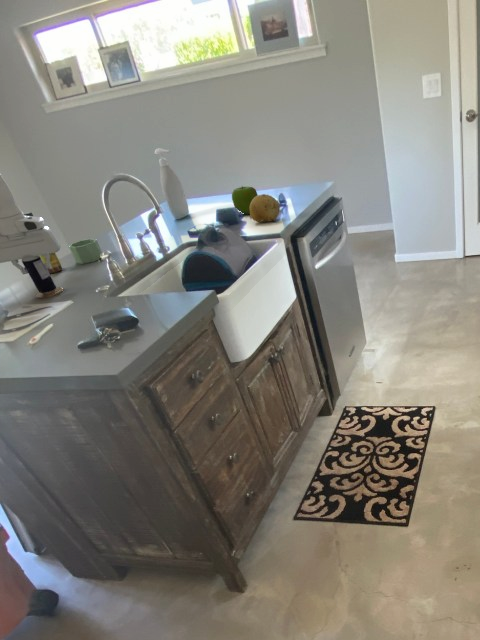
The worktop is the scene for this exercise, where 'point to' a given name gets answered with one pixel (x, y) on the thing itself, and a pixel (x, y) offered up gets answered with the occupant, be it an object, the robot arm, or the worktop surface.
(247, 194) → the apple
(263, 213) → the potato
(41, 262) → the beverage can
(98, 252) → the green bowl
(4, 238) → the robot arm
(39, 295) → the coaster
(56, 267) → the sauce bottle
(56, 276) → the worktop surface
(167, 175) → the soap bottle
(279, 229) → the worktop surface
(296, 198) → the worktop surface
